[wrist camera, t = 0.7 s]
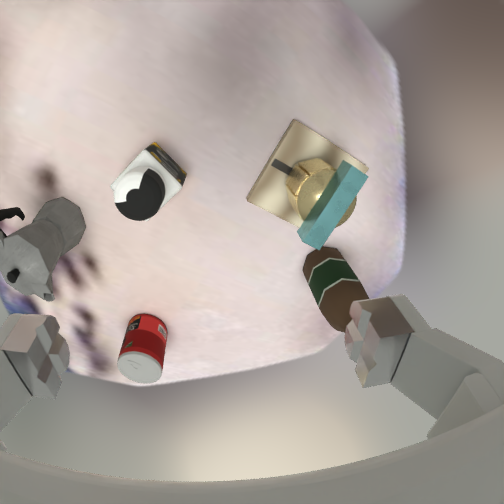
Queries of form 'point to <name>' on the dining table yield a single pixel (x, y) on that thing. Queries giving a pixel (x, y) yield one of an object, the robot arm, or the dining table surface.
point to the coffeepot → (39, 246)
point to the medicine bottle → (147, 184)
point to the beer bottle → (333, 285)
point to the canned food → (143, 349)
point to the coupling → (323, 197)
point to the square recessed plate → (282, 163)
